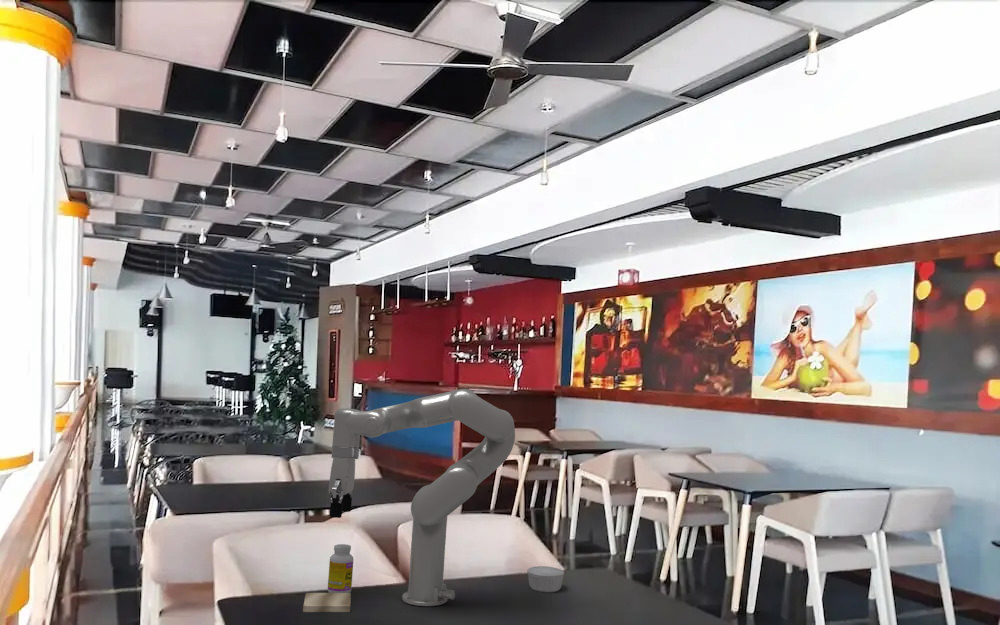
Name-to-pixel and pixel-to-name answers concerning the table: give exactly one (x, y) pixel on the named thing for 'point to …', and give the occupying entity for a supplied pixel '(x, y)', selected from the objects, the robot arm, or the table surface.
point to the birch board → (327, 602)
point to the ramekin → (545, 578)
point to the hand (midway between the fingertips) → (340, 514)
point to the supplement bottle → (340, 570)
